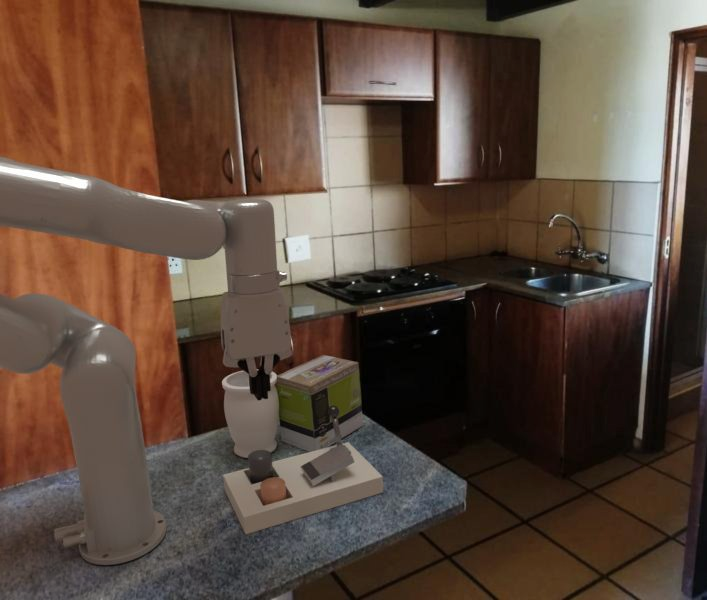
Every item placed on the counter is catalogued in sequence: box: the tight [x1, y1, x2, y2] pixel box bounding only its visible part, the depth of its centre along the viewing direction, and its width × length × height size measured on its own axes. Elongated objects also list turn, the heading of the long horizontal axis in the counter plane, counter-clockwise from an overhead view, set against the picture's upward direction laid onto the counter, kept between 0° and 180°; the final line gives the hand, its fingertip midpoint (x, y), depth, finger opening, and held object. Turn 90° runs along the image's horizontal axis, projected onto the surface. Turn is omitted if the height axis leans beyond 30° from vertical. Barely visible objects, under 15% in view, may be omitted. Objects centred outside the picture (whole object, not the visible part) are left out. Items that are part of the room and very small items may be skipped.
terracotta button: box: [260, 477, 286, 506], centre depth 96 cm, size 4×4×4 cm
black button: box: [247, 450, 273, 485], centre depth 101 cm, size 4×4×4 cm
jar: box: [221, 368, 279, 459], centre depth 115 cm, size 11×10×15 cm
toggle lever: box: [328, 406, 343, 446], centre depth 108 cm, size 2×2×8 cm
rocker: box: [301, 444, 354, 486], centre depth 100 cm, size 8×5×1 cm, turn 115°
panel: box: [222, 441, 384, 535], centre depth 101 cm, size 24×14×4 cm, turn 115°
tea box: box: [275, 354, 364, 453], centre depth 120 cm, size 15×10×15 cm
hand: (260, 396), depth 92 cm, fingers closed
